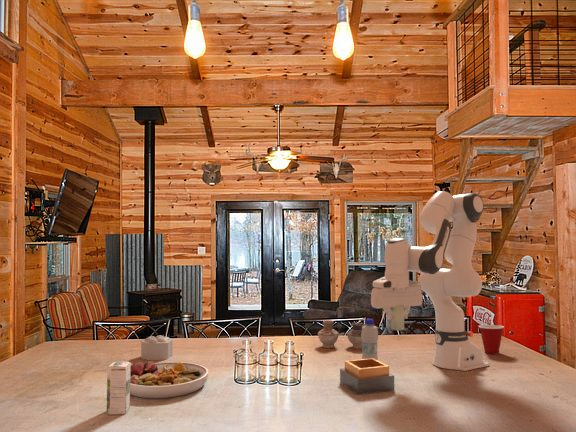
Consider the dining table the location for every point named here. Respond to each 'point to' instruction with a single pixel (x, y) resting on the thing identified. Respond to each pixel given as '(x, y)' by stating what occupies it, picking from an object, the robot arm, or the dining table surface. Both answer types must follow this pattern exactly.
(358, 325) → the pottery
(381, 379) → the tan and grey box
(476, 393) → the dining table surface
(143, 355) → the white lumpy-lid tub
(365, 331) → the bottle
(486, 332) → the plastic cup
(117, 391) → the syrup box
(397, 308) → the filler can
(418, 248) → the robot arm
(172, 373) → the bowl
